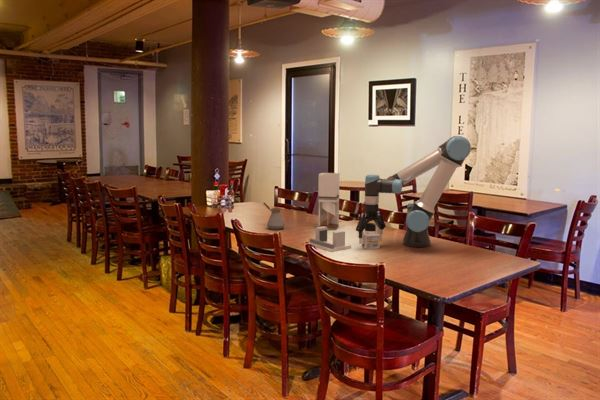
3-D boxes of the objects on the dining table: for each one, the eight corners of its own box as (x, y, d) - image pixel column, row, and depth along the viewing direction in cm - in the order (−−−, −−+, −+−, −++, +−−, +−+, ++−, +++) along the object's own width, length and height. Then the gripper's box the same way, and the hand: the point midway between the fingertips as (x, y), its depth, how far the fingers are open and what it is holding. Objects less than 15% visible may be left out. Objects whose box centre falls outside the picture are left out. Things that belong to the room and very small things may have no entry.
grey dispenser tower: (317, 229, 332) (318, 174, 327) (321, 226, 342) (321, 172, 337) (335, 230, 329) (336, 174, 324) (338, 227, 340) (339, 173, 334)
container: (366, 249, 280) (367, 225, 278) (361, 246, 288) (361, 222, 286) (379, 248, 282) (380, 224, 281) (374, 245, 290) (374, 222, 288)
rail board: (351, 248, 283) (351, 230, 281) (331, 251, 274) (331, 234, 273) (328, 241, 298) (328, 225, 296) (308, 245, 289) (309, 228, 288)
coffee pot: (288, 229, 332) (288, 206, 329) (272, 231, 325) (272, 207, 323) (271, 224, 349) (271, 201, 347) (255, 225, 343) (255, 203, 341)
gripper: (382, 200, 292) (381, 238, 295) (349, 204, 277) (348, 243, 280) (392, 202, 286) (391, 240, 289) (359, 206, 271) (358, 246, 274)
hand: (370, 242), depth 285 cm, fingers open, 13 cm apart
